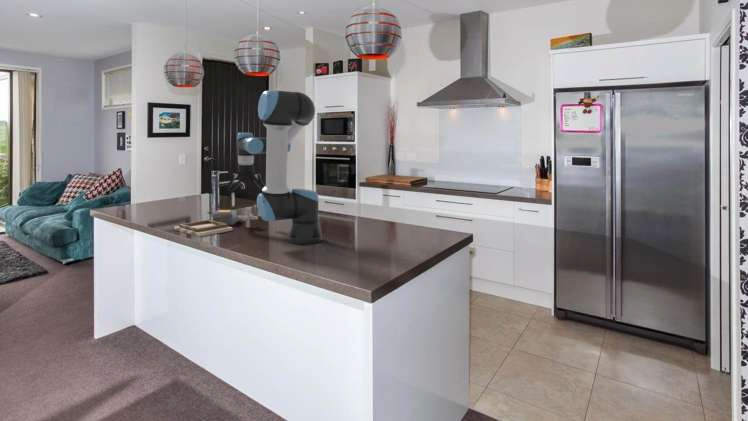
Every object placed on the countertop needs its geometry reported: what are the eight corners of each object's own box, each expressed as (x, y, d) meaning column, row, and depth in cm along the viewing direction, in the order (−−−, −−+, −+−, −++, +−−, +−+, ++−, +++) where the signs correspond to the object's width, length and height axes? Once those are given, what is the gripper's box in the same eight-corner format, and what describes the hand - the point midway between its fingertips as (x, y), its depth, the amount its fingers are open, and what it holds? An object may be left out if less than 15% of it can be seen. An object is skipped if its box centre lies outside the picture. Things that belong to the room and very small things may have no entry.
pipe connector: (261, 225, 231) (260, 206, 230) (253, 229, 221) (253, 209, 220) (242, 224, 232) (241, 205, 231) (234, 228, 222) (233, 209, 221)
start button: (229, 217, 233) (229, 211, 233) (217, 217, 233) (217, 211, 232) (232, 215, 239) (231, 210, 239) (220, 215, 239) (220, 209, 238)
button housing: (233, 224, 232) (233, 213, 231) (211, 224, 231) (211, 213, 230) (238, 220, 242) (237, 210, 241) (217, 220, 241) (216, 209, 240)
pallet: (232, 230, 219) (232, 224, 218) (199, 236, 205) (198, 230, 204) (207, 224, 232) (207, 218, 231) (174, 229, 218) (174, 223, 217)
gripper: (218, 164, 217) (220, 207, 221) (270, 165, 219) (271, 207, 223) (222, 163, 224) (223, 204, 228) (272, 164, 226) (273, 205, 230)
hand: (247, 206), depth 225 cm, fingers open, 13 cm apart
